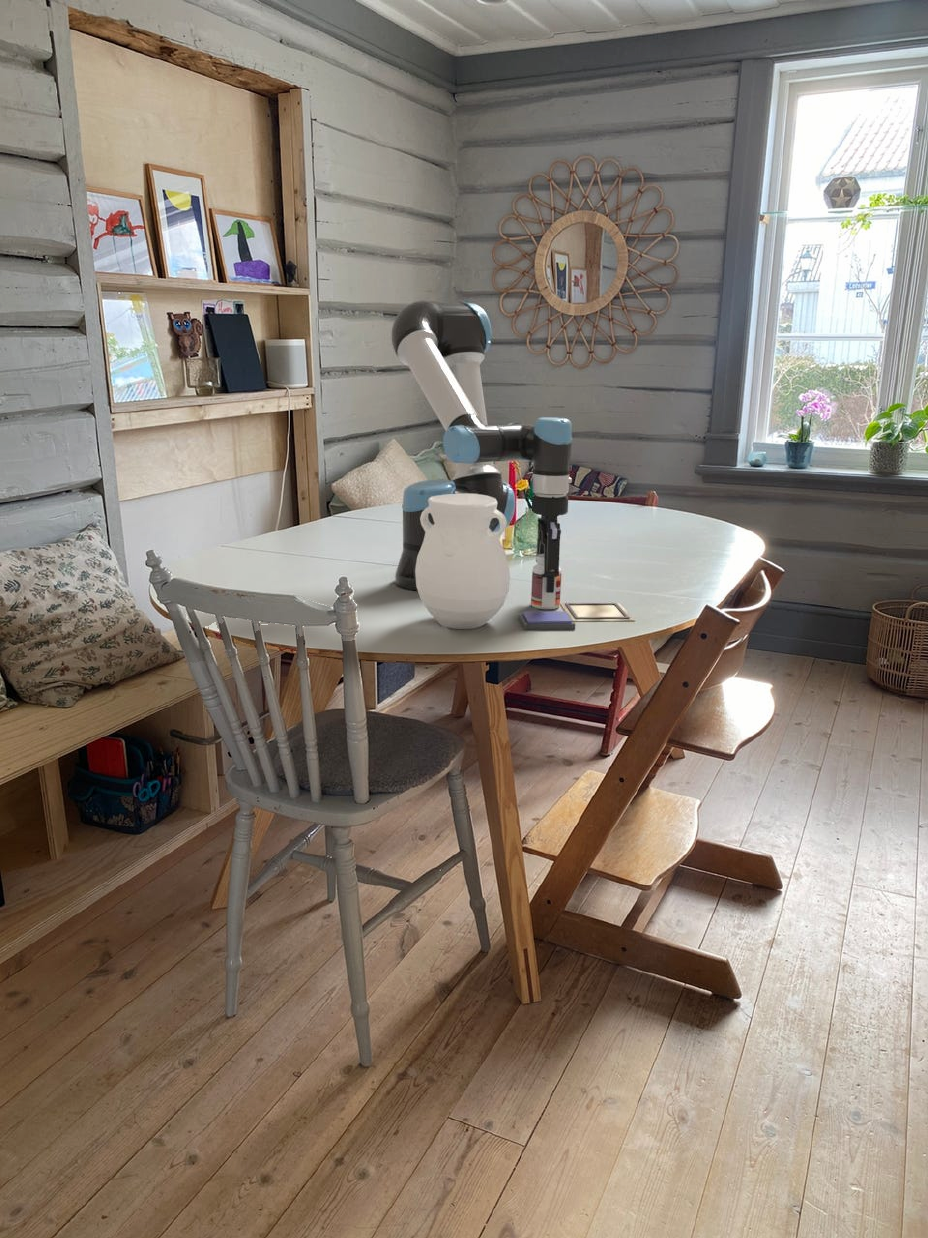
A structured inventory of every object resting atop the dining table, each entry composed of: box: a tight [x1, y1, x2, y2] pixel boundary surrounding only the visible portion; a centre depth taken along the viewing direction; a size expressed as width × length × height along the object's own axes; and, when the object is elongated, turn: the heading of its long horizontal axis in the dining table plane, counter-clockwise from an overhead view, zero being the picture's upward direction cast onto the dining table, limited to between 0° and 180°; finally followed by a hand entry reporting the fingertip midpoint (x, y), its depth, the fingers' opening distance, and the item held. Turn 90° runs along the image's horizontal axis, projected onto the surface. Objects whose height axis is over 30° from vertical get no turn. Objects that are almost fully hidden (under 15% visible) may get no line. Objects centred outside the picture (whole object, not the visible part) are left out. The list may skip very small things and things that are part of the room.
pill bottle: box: [530, 554, 563, 610], centre depth 201 cm, size 6×6×11 cm
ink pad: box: [518, 610, 576, 631], centre depth 190 cm, size 10×8×2 cm
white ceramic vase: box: [415, 493, 511, 630], centre depth 186 cm, size 19×18×25 cm
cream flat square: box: [559, 602, 636, 622], centre depth 199 cm, size 13×13×1 cm
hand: (545, 602), depth 202 cm, fingers closed on pill bottle, 6 cm apart
